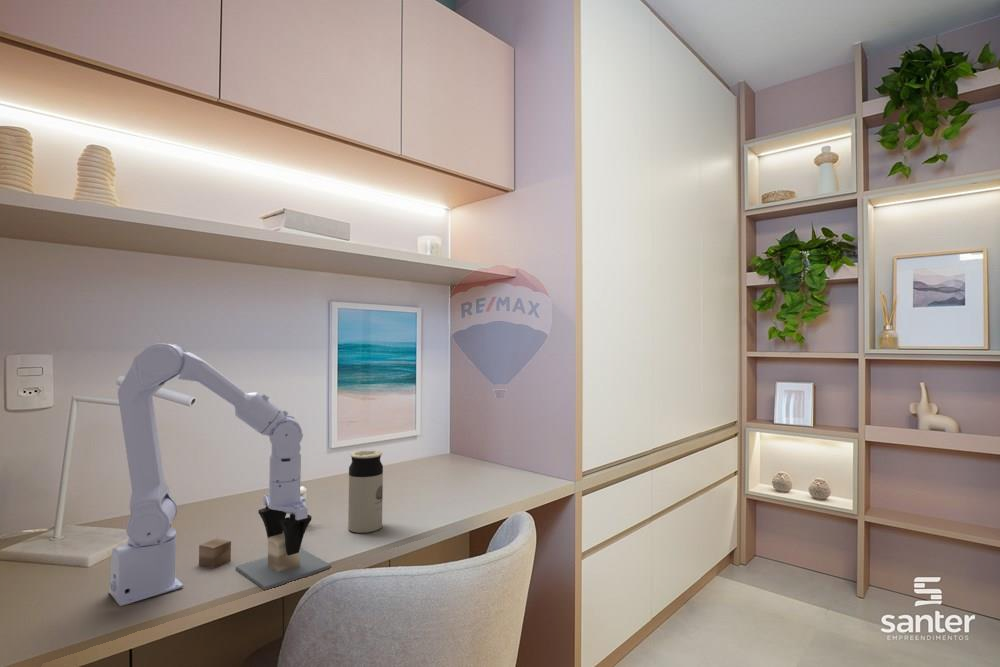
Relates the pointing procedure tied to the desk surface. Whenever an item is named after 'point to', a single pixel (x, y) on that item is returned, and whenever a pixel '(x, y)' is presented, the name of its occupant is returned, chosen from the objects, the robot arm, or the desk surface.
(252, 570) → the mat
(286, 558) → the maple block
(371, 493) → the travel mug
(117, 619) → the desk surface
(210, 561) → the walnut cube
